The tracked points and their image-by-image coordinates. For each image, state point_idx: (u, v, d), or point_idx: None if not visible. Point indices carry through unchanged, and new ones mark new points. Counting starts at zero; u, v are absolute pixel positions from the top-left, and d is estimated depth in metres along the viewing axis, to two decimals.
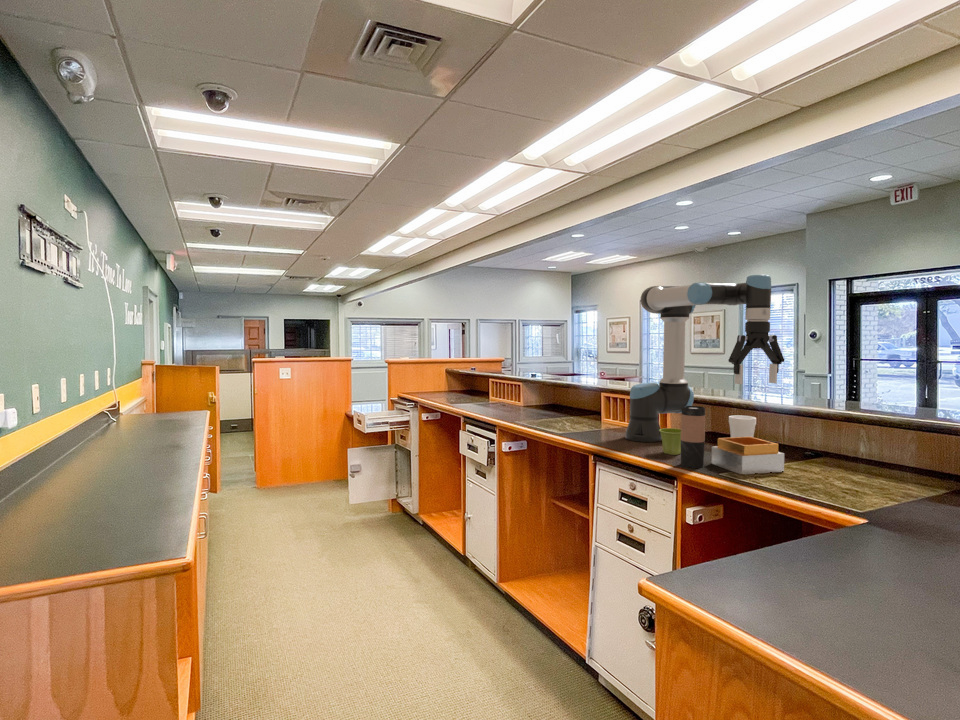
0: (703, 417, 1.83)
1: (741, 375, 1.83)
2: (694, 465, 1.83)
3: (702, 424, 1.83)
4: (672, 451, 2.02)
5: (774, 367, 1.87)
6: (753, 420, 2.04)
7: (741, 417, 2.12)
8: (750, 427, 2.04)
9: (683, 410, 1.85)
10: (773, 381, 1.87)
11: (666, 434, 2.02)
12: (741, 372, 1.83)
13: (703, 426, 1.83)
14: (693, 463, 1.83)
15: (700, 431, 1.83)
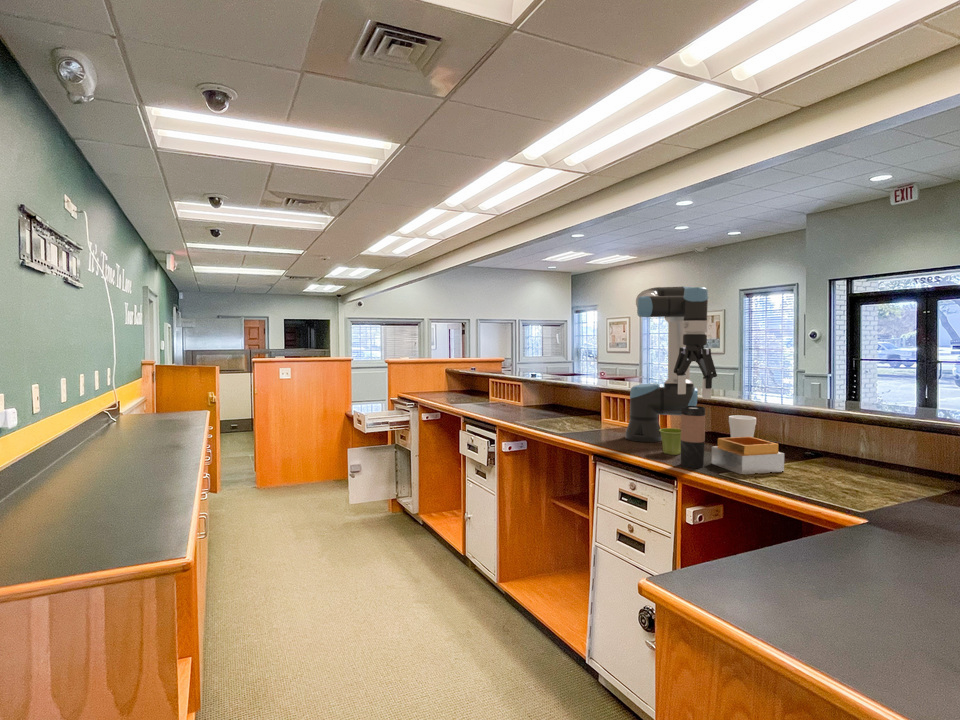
0: (703, 417, 1.83)
1: (678, 385, 1.92)
2: (694, 465, 1.83)
3: (702, 424, 1.83)
4: (672, 451, 2.02)
5: None
6: (753, 420, 2.04)
7: (741, 417, 2.12)
8: (750, 427, 2.04)
9: (683, 410, 1.85)
10: None
11: (666, 434, 2.02)
12: (678, 383, 1.92)
13: (703, 426, 1.83)
14: (693, 463, 1.83)
15: (700, 431, 1.83)
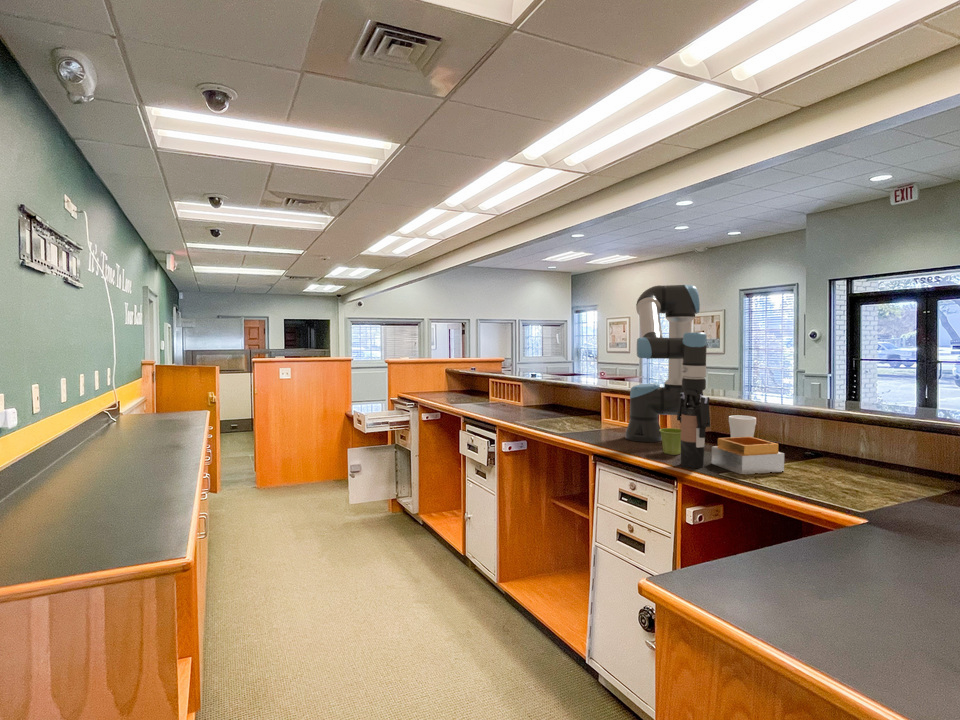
0: None
1: None
2: (694, 465, 1.83)
3: None
4: (672, 451, 2.02)
5: None
6: (753, 420, 2.04)
7: (741, 417, 2.12)
8: (750, 427, 2.04)
9: (683, 410, 1.85)
10: None
11: (666, 434, 2.02)
12: None
13: None
14: (693, 463, 1.83)
15: None
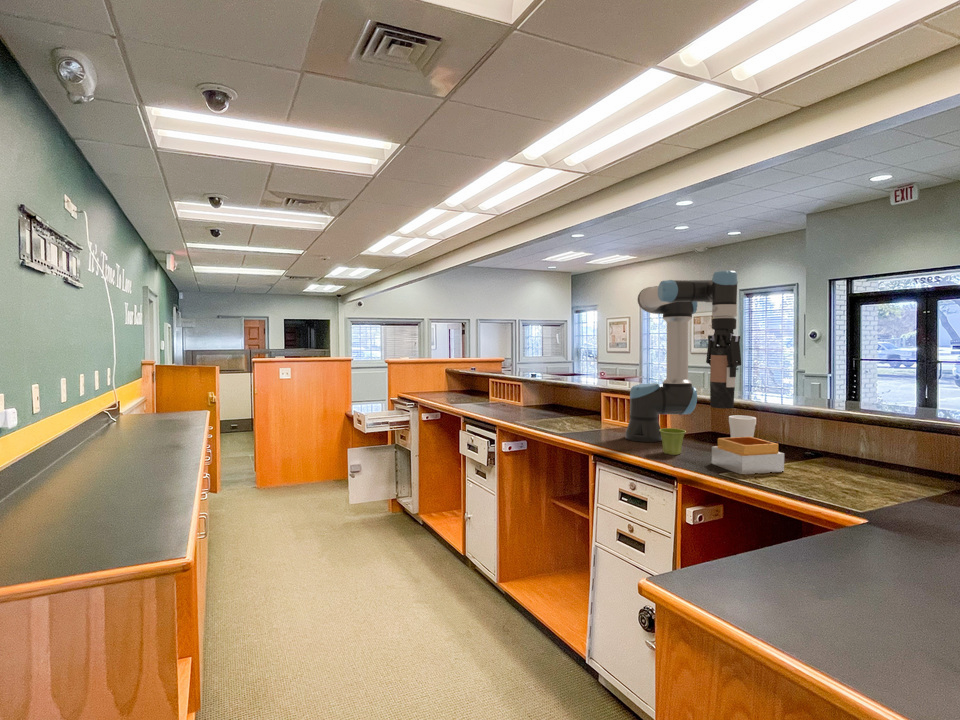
0: None
1: None
2: (724, 406, 1.81)
3: None
4: (672, 451, 2.02)
5: None
6: (753, 420, 2.04)
7: (741, 417, 2.12)
8: (750, 427, 2.04)
9: (713, 350, 1.82)
10: None
11: (666, 434, 2.02)
12: None
13: None
14: (723, 403, 1.80)
15: None
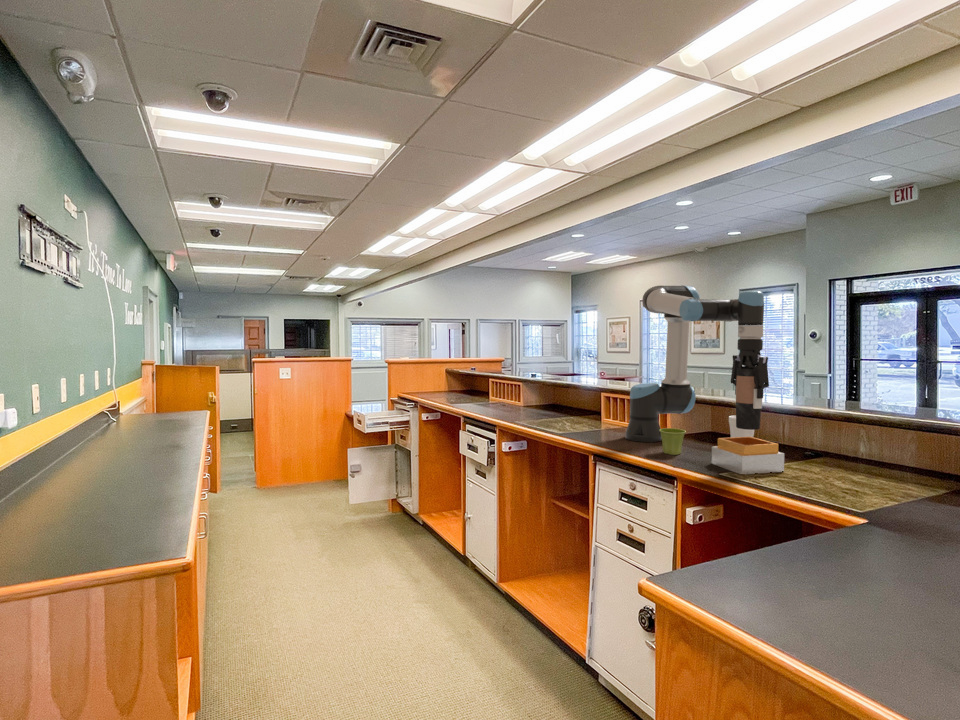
0: None
1: None
2: (751, 427, 1.80)
3: None
4: (672, 451, 2.02)
5: None
6: None
7: None
8: None
9: (739, 371, 1.81)
10: None
11: (666, 434, 2.02)
12: None
13: None
14: (750, 424, 1.80)
15: None
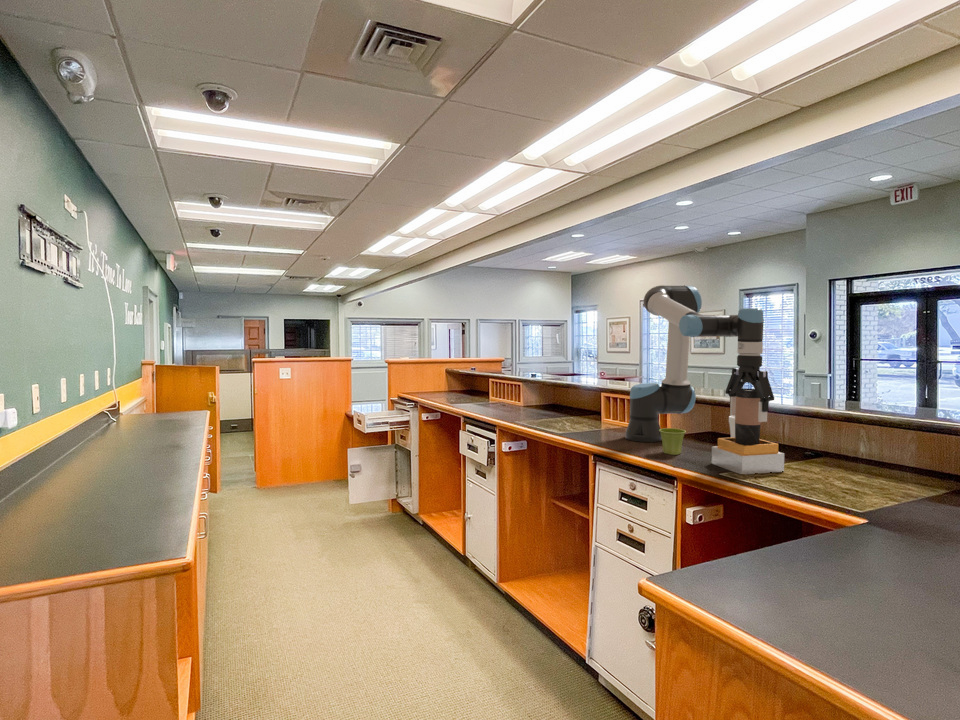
0: (759, 399, 1.80)
1: (730, 406, 1.89)
2: None
3: (758, 407, 1.80)
4: (672, 451, 2.02)
5: None
6: None
7: None
8: None
9: (739, 392, 1.82)
10: None
11: (666, 434, 2.02)
12: (731, 404, 1.89)
13: None
14: None
15: (757, 414, 1.80)
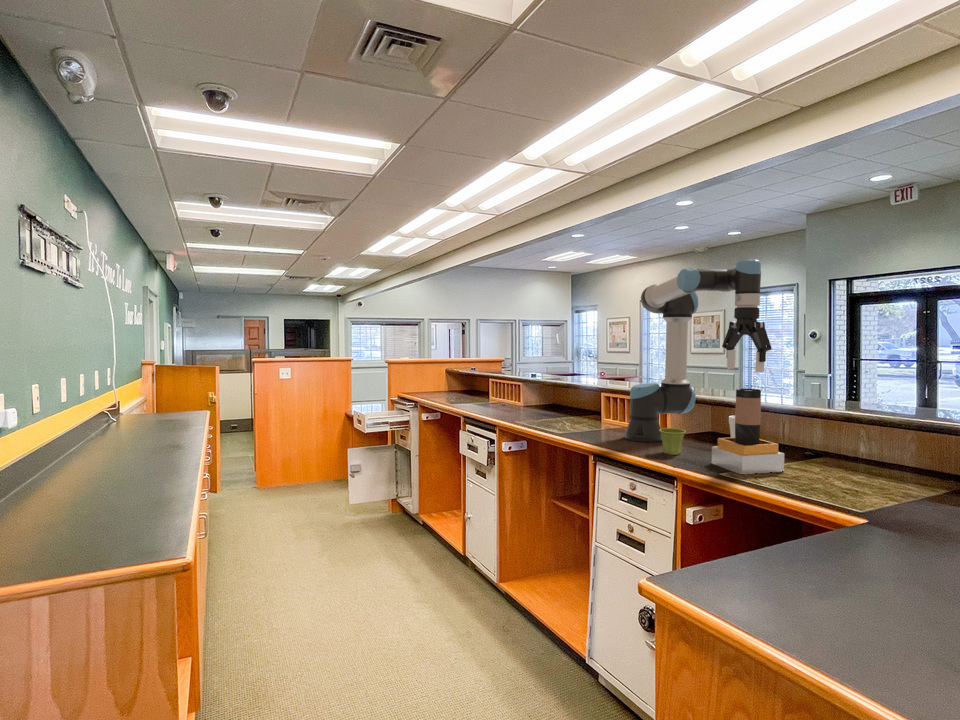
0: (759, 399, 1.80)
1: (727, 360, 1.90)
2: None
3: (758, 407, 1.80)
4: (672, 451, 2.02)
5: None
6: None
7: None
8: None
9: (739, 392, 1.82)
10: None
11: (666, 434, 2.02)
12: (727, 357, 1.90)
13: (759, 408, 1.80)
14: None
15: (757, 414, 1.80)
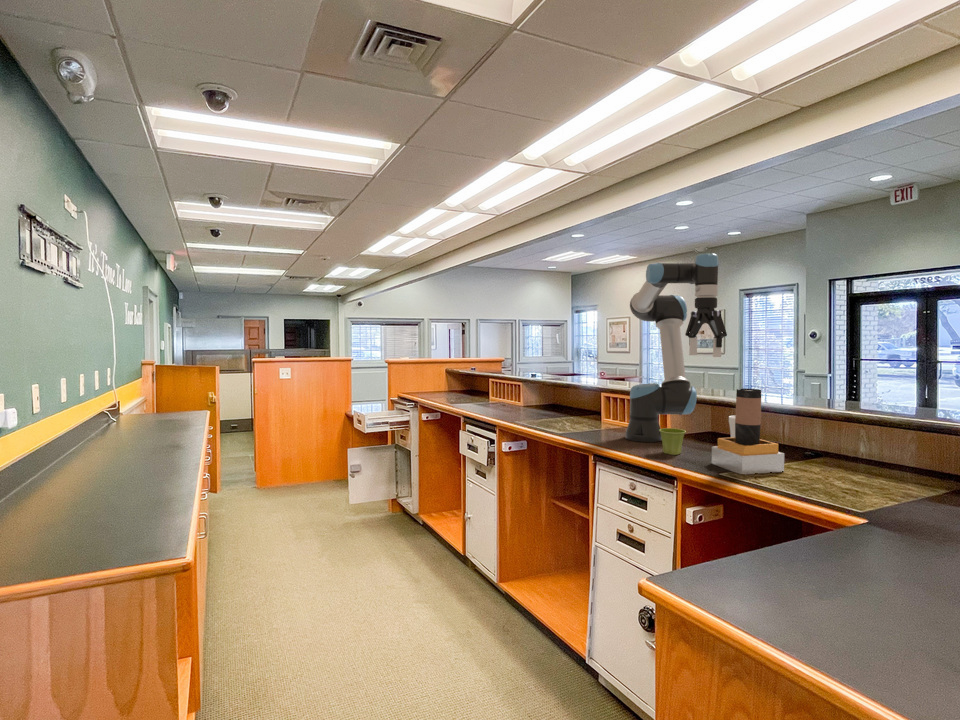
0: (760, 399, 1.80)
1: None
2: None
3: (759, 407, 1.80)
4: (672, 451, 2.02)
5: None
6: None
7: None
8: None
9: (739, 392, 1.82)
10: None
11: (666, 434, 2.02)
12: (690, 344, 2.05)
13: (759, 409, 1.80)
14: None
15: (757, 414, 1.80)
